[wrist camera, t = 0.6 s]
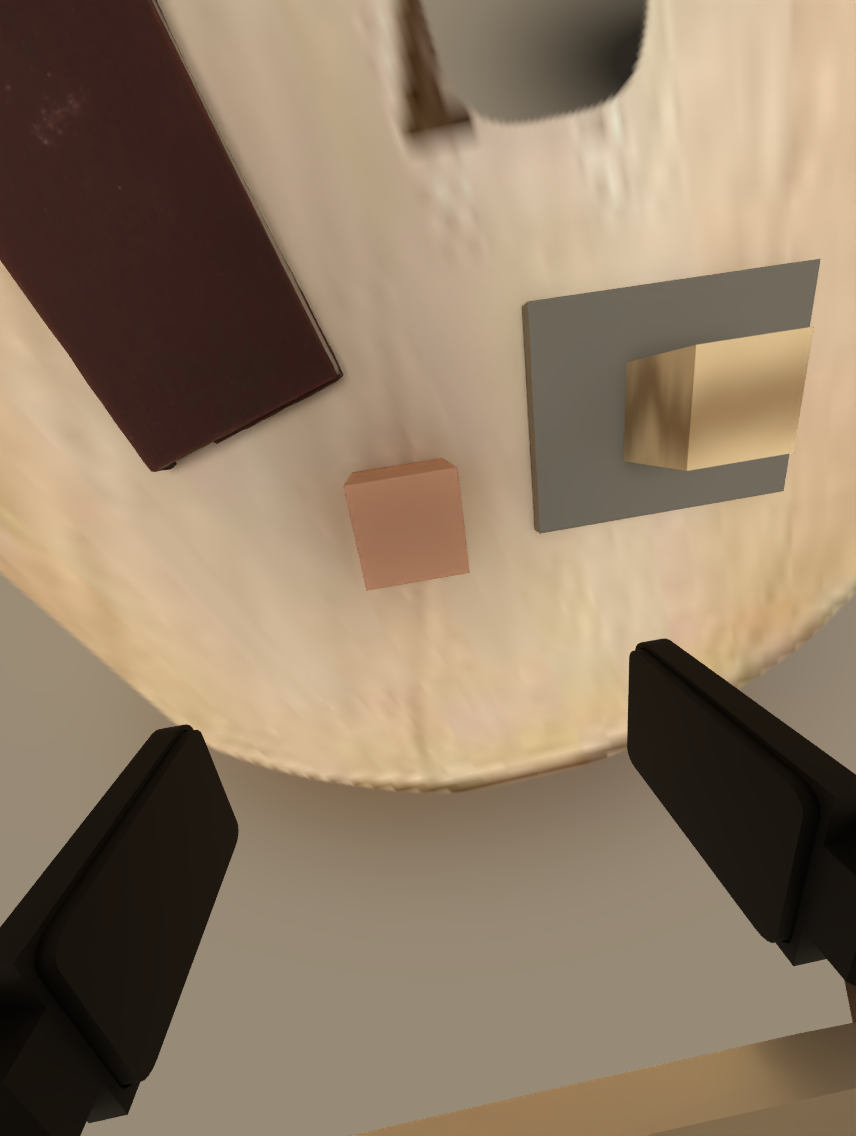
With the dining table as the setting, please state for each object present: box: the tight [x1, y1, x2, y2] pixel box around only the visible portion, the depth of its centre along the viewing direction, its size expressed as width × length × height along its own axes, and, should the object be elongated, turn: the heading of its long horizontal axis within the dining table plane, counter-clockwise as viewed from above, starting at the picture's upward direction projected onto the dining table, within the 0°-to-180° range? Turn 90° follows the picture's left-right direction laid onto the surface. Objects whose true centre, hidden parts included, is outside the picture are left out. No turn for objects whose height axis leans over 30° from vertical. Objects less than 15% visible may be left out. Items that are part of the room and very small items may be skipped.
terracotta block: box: [344, 458, 470, 590], centre depth 25 cm, size 6×6×6 cm
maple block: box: [624, 327, 814, 471], centre depth 23 cm, size 6×6×6 cm
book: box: [0, 0, 343, 472], centre depth 21 cm, size 12×19×3 cm, turn 25°
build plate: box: [522, 259, 820, 533], centre depth 27 cm, size 14×18×1 cm
